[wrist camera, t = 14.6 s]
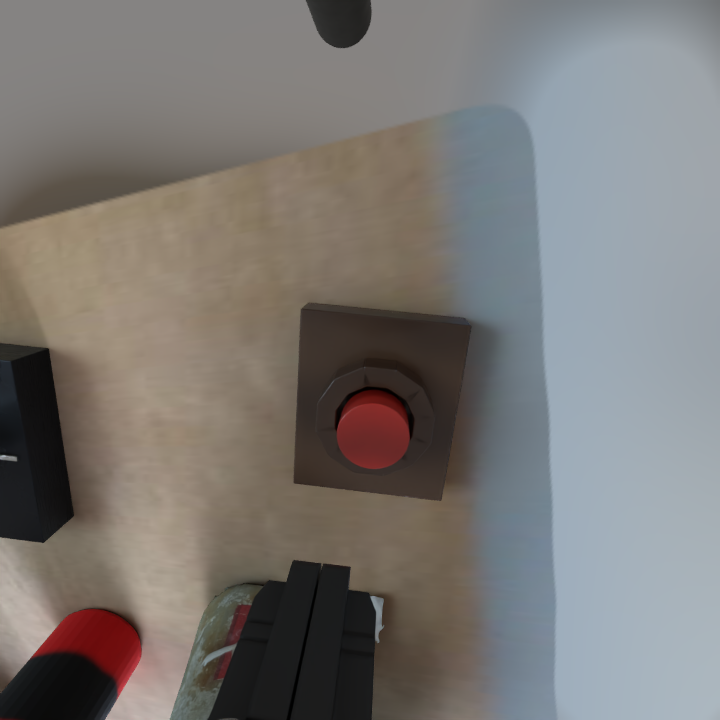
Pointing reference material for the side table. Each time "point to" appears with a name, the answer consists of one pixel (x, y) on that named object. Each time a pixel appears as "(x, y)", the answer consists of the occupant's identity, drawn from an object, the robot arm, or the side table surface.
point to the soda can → (75, 670)
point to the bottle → (213, 652)
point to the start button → (373, 429)
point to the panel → (30, 448)
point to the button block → (378, 372)
